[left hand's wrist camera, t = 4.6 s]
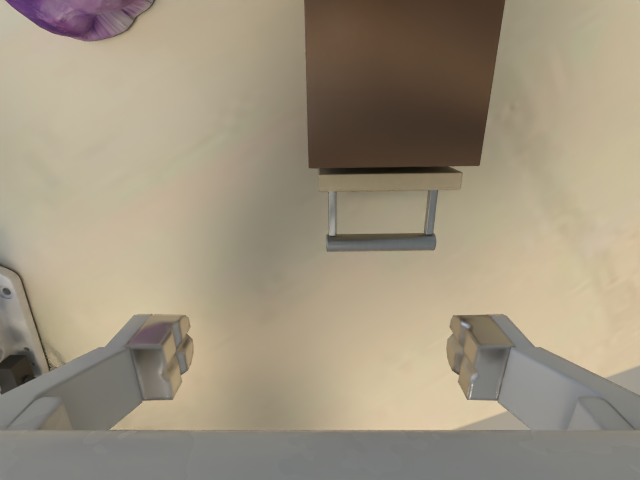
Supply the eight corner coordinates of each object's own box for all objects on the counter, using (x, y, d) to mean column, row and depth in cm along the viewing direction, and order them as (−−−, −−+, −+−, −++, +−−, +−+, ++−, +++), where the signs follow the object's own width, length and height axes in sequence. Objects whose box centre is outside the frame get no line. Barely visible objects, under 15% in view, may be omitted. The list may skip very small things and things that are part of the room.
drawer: (415, 221, 35) (450, 262, 26) (319, 223, 35) (319, 264, 26) (442, -65, 26) (508, -158, 17) (315, -62, 26) (312, -154, 17)
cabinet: (425, 146, 33) (479, 165, 22) (312, 148, 33) (308, 168, 22) (450, -110, 26) (547, -273, 15) (306, -107, 26) (297, -267, 15)
